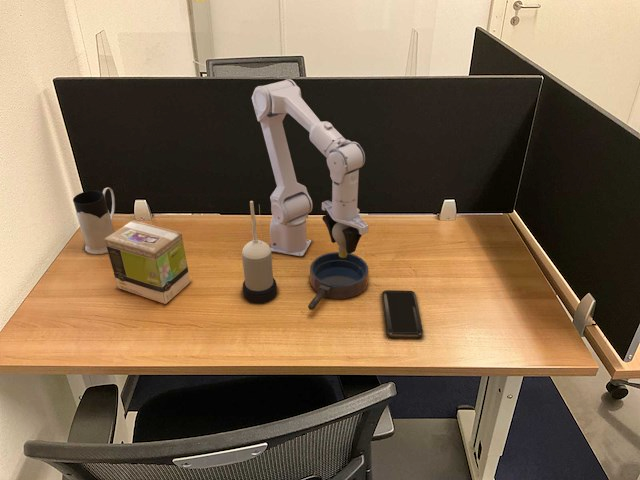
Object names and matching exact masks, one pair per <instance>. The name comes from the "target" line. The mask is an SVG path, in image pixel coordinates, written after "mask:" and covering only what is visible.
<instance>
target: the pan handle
mask: <svg viewBox="0 0 640 480" xmlns="http://www.w3.org/2000/svg"><path fill="white" fill-rule="evenodd" d="M330 293H331V287H328V286H325V285H323V284H322V285H321V286H320V287H319V293H318V292H317V293H316V295H315V296H314V297H313V298H312V300H311V301H310V302H309V303H308V305H307V308H308V310H310V311H314V310H315V309H316V308H317V307H318V305H319V304H320V303H321V301H322V300H323V299H324V297H326V296H325V295H329V294H330Z"/></svg>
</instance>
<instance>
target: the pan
mask: <svg viewBox="0 0 640 480" xmlns="http://www.w3.org/2000/svg"><path fill="white" fill-rule="evenodd" d="M309 278H310V279H309V283H310V285H311V288H312V289H313V290H314V291H315V292H316V293H317V294H318V293H319V287H320V286H321V285H322V284H323V285H325V286H328V287H331V293H330V294H329V295H325V296H324V297H326V298H330V299H334V300H335V299H337V300H342V299H343V300H344V299H345V300H346V299H349V298H353V297H356V296H359V295H360V294H362V293H363V292H364V291H365V290H366V289H367V286H368V283H369V266H368V263H367V261H365V260H364V259H363V258H362V257H360V256H358V255H356V254H353V253H350V254H348V253H347V257H345V258H341V257H339V251H332V252H327V253H323V254H321V255H319V256H318V257H316V258H315V259H314V260H313V261H312V262H311V264H310V266H309Z"/></svg>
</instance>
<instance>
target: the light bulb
mask: <svg viewBox="0 0 640 480" xmlns="http://www.w3.org/2000/svg"><path fill="white" fill-rule="evenodd" d="M349 227H350V226H348V225H345V224H342V223H339V222H337V223H336V224H335V225H334V226H333V229H332V235H333V238H334V240H335V241H336V242H335V243H336V244H337V246H338V252H339V257H341V258H345V257H347V251H346V240H345V236H344V234H343V232H342V230H344V229H346V228H349Z"/></svg>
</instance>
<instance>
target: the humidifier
mask: <svg viewBox="0 0 640 480" xmlns="http://www.w3.org/2000/svg"><path fill="white" fill-rule="evenodd" d="M249 207H250V209H249V210H250V218H251V222H252V223H251V234H252V235H251V236H252V240H250V241H248V242H247V243H246V244H245V245H244V247H243V248H242V250H241V257H242V267H243V276H244V278H243V279H244V280H243V282H242V296H243V298H244V300H246V301H247V302H249V303H251V304H254V305H255V304H256V305H262V304H266V303H269V302H272V301H273V300H274V299H275V298H276V297H277V295H278V287H277V286H278V285H277V282H276V279H275V278H274V271H273V256H272V251H271V246H270V245H269V244H268V243H267V242H265V241H263V240H262V239H259V238H258V235H257V219H256V215H255V206H254V201H253V200H250V201H249ZM258 211H259V213H258V214H261V208H260V205H258ZM259 224H260V226H261V228H260V235H261V237H260V238H263V224H262V222H261V221H259Z"/></svg>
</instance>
